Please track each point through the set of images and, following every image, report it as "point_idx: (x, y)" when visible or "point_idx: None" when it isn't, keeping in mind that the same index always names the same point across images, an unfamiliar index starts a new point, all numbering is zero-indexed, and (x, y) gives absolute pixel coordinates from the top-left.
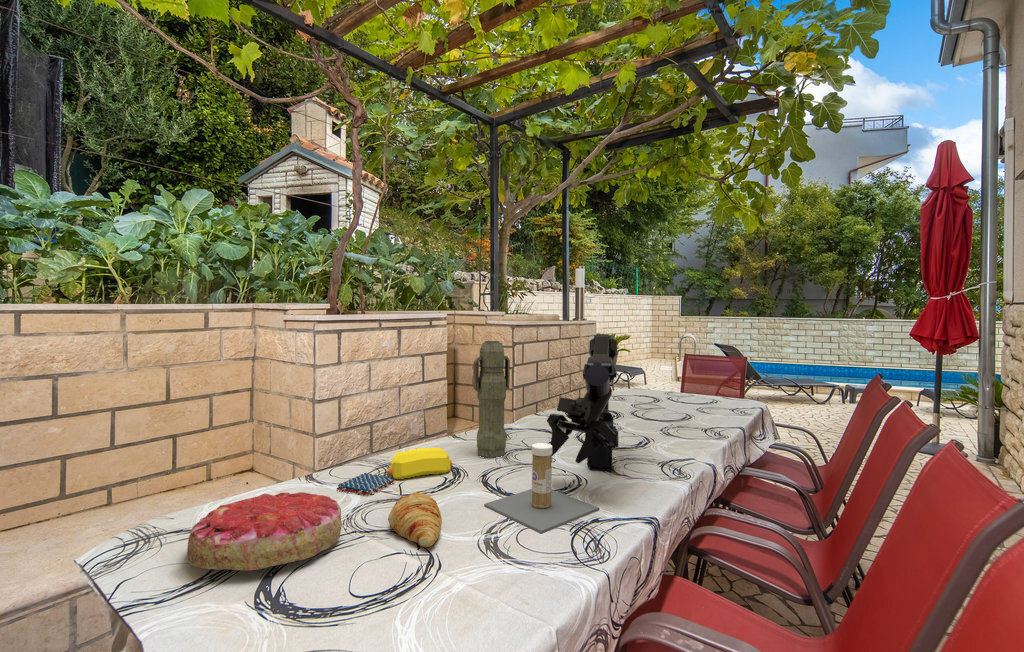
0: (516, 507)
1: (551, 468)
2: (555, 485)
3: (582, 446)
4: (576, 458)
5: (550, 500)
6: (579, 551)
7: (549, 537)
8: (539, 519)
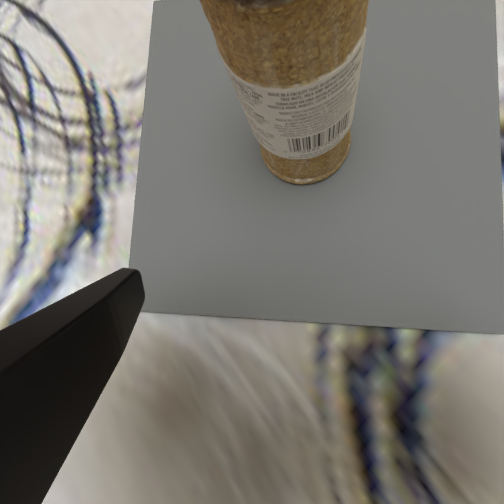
0: None
1: (223, 61)
2: (477, 425)
3: (1, 354)
4: (121, 276)
5: (262, 151)
6: (22, 27)
7: (125, 13)
8: (215, 50)
